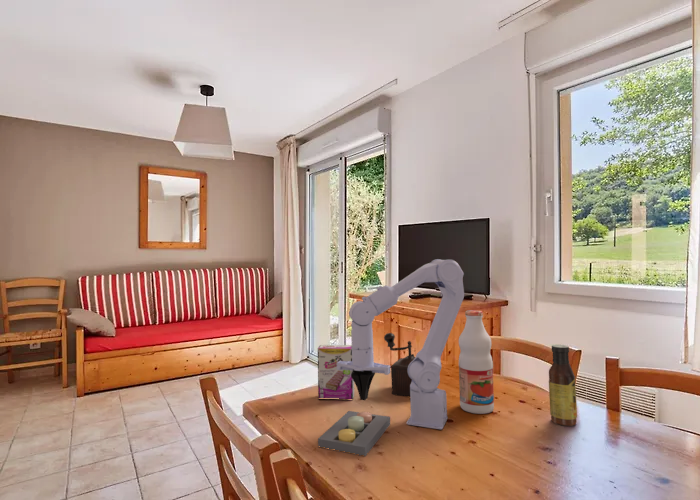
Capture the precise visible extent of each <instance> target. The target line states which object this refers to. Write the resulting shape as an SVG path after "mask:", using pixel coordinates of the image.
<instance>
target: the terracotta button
mask: <svg viewBox="0 0 700 500" xmlns="http://www.w3.org/2000/svg"><path fill="white" fill-rule="evenodd" d="M372 414H373V413H371V412H369V411H360V413H358V414H357V416H361V417H363V418H364V423H371V421H372Z"/></svg>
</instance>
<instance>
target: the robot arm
mask: <svg viewBox="0 0 700 500" xmlns="http://www.w3.org/2000/svg"><path fill="white" fill-rule="evenodd" d="M464 275H465V273H464V271H463V270H462V267H461V266H460V265H459V263H458V262H457V261H455V260H454V259H439V258H437V259H433V260H431V262H429V263H425V264H423V265H422V266H420V267H418V268H416V270H415V271H413V272H411V273H410V274H409V275H407V276H405V277H404V278H403V279H401V280H399V282H397V283H395V284H393V285H392V286H389V285H383V286H382V285H379V286H378V287H376V291H373V292H372V293H371V294H369V295H368V296H367V295H366V296H365V295H364V296H363V297H361V300H362V301H361V300H359V301H356V302H354V303H352V305H351V307H350V308H349V311H348V315H349V317H350V319H351V324H350V325H351V330H350V332H351V335H350V336H351V337H350V339H351V345H352V361H339V362H337V370H341V369H342V370H352V371H353V372H352V374H351V378H352V379H353V381H354V385H355V386H356V389H357V393H358V395H359V400H360V401H367V400H368V398H369V392H370V387H371V385H372V381H373V379H374V377H375V375H376V374H383V375H385V376H389V375H391V365H389V364H383V363H379V362H374V335H373V334H374V332H373V331H374V330H373V321H374V320H375V317H378V316H380V315H381V314H383V313H384V312H385V311H387V310H389V309H390V308H392V307H393V306H396V305H397V304H398V300H399V298H400V297H401V296H403V295H404V294H406V293H408V292H410V291H411V290H413V289H415V288H416V287H418V286H420V285H422V284H423V283H434V284H435V285H437V287H438V289H439V291H440V293H441V295H442V297H441V299H440V301H439V302H440V303H439V306H438V308H437V310H436V313H435V316H434V318H433V320H432V322H431V326H430V328H429V330H428V333H427V335H426V339H425V340H424V344H423V345H422V348H421V350H419V351H418V352H417V353H416V355H415V356H414V357H415V359H414V360H413V361H412V362H411V363H410V364H409V366H408V375H409V377H410V378H411V379H412V382H411V384H410V397H409V398H410V401H409V402H410V416H409V418H408V419H407V421H406V423H405V424H406V425H408V426H414V427H415V426H416V427H420V428H421V427H422V428H428V429H436V430H443V429H444V426H445V425H446V423H447V420H448V407H447V406H448V404H447V403H448V402H447V391H446V390H445V389H440V388H438V387H439V384H440V382H441V377H440V373H441V370H442V360H441V357H442V355H443V352H444V349H445V347H446V344H447V342H448V339H449V336H450V334H451V331H452V329H453V326H454V324H455V323H456V322H455V321H456V319H457V316H458V314H459V311H460V309H461V307H462V304H463V301H464V297H465V287H464V282H463V281H464V280H463V277H464Z"/></svg>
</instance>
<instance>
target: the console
mask: <svg viewBox="0 0 700 500" xmlns="http://www.w3.org/2000/svg"><path fill="white" fill-rule="evenodd" d="M360 412H361V411H360ZM360 412H359V411H352V410H348V411H347V412H346V413H345V414H343V415H342V417H340V418H339V419H338V420H337V421H336V422H334V424H333V425H331V427H329V428H328V429H327V430H326V431H324V432H323V434H322V435H320V437H318V439H317V447H318V446H320V447H325V448H329V449H328V450H330V449H335V450H339V451H338V452H340V451H345V452H350V453H355V454H354V455H356V454H359V455H358V456H361V455H364V456H363V457H366V456H367V455H368V454H369V452H371V450H372V449H373V447H374V446H375V445H376V443H377V442H378V441H379V440H380V438H381V437H382V435H383V434H384V433H385V432H386V431H387V429H388V428H389V427H390V425H391V416H387V415H380V414H373V413H371V414H372V421H371V423H364V430H363V431H361V432H355V440H354V441H353V443H351V442H345V441H339V431H340V430H343V429H348V418H349V417H352V416H357V414H358V413H360ZM335 450H334V451H335ZM345 452H344V453H345ZM350 453H349V454H350ZM367 453H368V454H367Z"/></svg>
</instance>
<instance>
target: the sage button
mask: <svg viewBox="0 0 700 500" xmlns="http://www.w3.org/2000/svg"><path fill="white" fill-rule="evenodd" d="M348 429H352V430H354V431H355V432H360V433H362V431H363V430H364V418H363V417H361V416H352V417H349V418H348Z"/></svg>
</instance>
